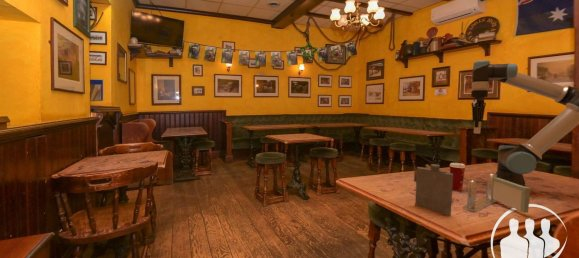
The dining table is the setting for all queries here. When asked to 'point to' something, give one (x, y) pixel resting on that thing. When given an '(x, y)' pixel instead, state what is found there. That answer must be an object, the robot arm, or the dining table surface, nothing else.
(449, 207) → the hip flask
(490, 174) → the gate frame
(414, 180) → the grey flat container
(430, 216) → the dining table surface
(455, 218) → the dining table surface
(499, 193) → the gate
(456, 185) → the paper cup
